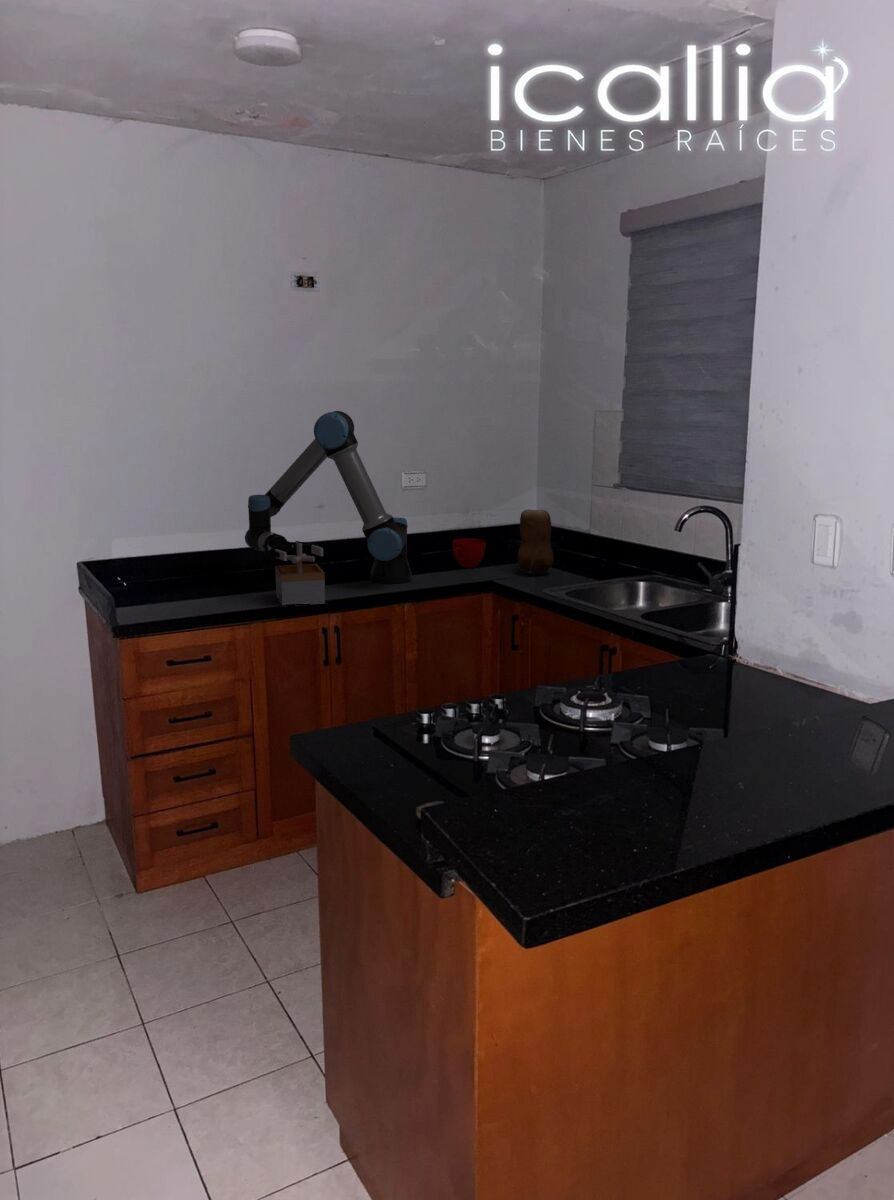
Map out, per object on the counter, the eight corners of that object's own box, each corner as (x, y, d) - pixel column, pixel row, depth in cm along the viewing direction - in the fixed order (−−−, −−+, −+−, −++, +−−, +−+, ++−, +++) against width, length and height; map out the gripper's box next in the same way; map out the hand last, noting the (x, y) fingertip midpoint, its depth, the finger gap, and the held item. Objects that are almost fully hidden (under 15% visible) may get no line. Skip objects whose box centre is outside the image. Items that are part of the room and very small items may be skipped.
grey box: (317, 593, 322) (316, 563, 319) (324, 603, 309) (324, 572, 306) (276, 596, 318) (275, 565, 315) (282, 606, 305) (281, 574, 302)
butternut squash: (532, 569, 366) (535, 505, 360) (559, 574, 357) (562, 509, 351) (509, 574, 356) (511, 508, 350) (536, 580, 347) (539, 513, 341)
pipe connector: (309, 576, 305) (308, 546, 303) (279, 575, 307) (279, 544, 305) (318, 571, 315) (318, 542, 313) (290, 569, 317) (290, 540, 315)
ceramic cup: (440, 568, 364) (440, 543, 362) (462, 561, 378) (463, 537, 376) (469, 572, 358) (469, 547, 355) (491, 565, 372) (491, 540, 369)
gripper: (305, 551, 331) (337, 561, 315) (240, 559, 317) (270, 570, 300) (305, 530, 330) (336, 539, 313) (239, 537, 315) (269, 547, 299)
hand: (304, 554), depth 307 cm, fingers open, 13 cm apart
